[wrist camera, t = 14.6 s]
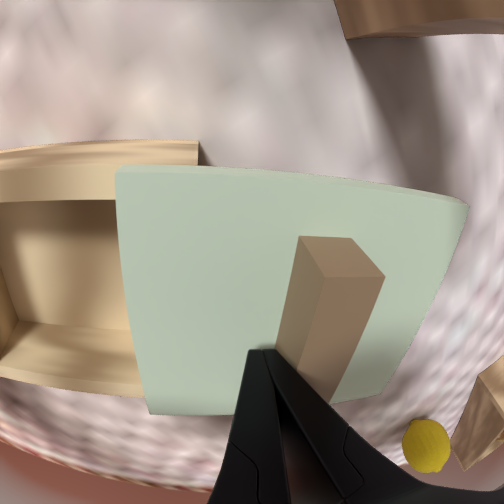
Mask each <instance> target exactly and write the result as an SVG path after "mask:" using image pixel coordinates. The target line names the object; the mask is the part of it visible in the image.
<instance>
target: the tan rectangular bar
mask: <svg viewBox="0 0 504 504" xmlns="http://www.w3.org/2000/svg"><path fill="white" fill-rule="evenodd" d="M334 2H335V5H336V8H337V12H338V15H339V18H340V22H341V25H342V28H343V32H344V36H345V39H358V38H375V37H423V36H435V35H450V34H504V0H334Z"/></svg>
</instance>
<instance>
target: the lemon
mask: <svg viewBox="0 0 504 504" xmlns="http://www.w3.org/2000/svg"><path fill="white" fill-rule="evenodd" d="M402 449H403V453H404V456H405V458H406V460H407V462H408V463H409V464H410V465H411V467H413V468H414V469H415V470H417V471H419V472H424V473H429V472H439V471H440V470H441V469H442V466H443V465H444V464H445V462H446V461H447V459H448V457H449V455H450V450H451V446H450V440H449V437H448V434H447V432H446V430H445V429H444V428H443V426H442V425H441V424H440V423H438V422H436V421H434V420H430V419H425V420H416V419H414V420H413V421H411V424H410V427H409V428H408V430H407V431H406V433H405V434H404V437H403V440H402Z"/></svg>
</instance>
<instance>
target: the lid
mask: <svg viewBox="0 0 504 504" xmlns="http://www.w3.org/2000/svg"><path fill="white" fill-rule="evenodd" d="M115 197H116V215H117V229H118V241H119V251H120V261H121V270H122V278H123V285H124V292H125V299H126V306H127V312H128V318H129V324H130V330H131V335H132V340H133V346H134V351H135V355H136V360H137V365H138V369H139V374H140V378H141V382H142V387H143V391H144V395H145V399H146V402H147V406H148V410H149V414H152V415H189V416H196V415H233V414H234V412H235V408H236V403H237V399H238V394H239V390H240V385H241V381H242V376H243V371H244V367H245V362H246V357H247V353H248V350H249V349H265V348H275V349H276V350H277V351H278V352H279V353H280V354H281V355H282V356H283V357H284V358H285V359H286V360H287V361H288V363H289V364H290V365H291V366H292V367H293V368H294V369H295V370H296V371H297V372H298V373H299V374H300V375H301V376H302V377H303V378H304V379H305V380H306V381H307V383H308V384H309V385H310V386H311V387H312V388H313V389H314V390H315V391H316V392H317V393H318V394H319V395H320V396H321V397H322V398H323V399H324V400H325V401H326V402H327V403H328V404H334V403H339V402H345V401H350V400H355V399H360V398H365V397H370V396H374V395H379V394H381V393H382V391H383V390H384V388H385V386H386V385H387V383H388V382H389V380H390V379H391V377H392V375H393V374H394V372H395V371H396V369H397V367H398V366H399V364H400V362H401V360H402V359H403V357H404V355H405V354H406V352H407V350H408V348H409V347H410V345H411V343H412V341H413V339H414V338H415V336H416V334H417V332H418V330H419V328H420V326H421V324H422V322H423V320H424V318H425V316H426V314H427V312H428V310H429V308H430V306H431V304H432V302H433V300H434V298H435V296H436V294H437V291H438V289H439V287H440V285H441V282H442V280H443V278H444V276H445V273H446V271H447V268H448V266H449V264H450V261H451V259H452V256H453V254H454V251H455V248H456V246H457V243H458V240H459V238H460V235H461V232H462V229H463V226H464V223H465V220H466V217H467V214H468V211H469V208H470V206H469V205H468V204H466V203H464V202H463V201H461V200H459V199H458V198H456V197H451V196H446V195H441V194H436V193H431V192H426V191H421V190H416V189H410V188H404V187H399V186H393V185H387V184H380V183H374V182H367V181H361V180H353V179H346V178H339V177H331V176H322V175H314V174H305V173H295V172H285V171H274V170H262V169H248V168H233V167H215V166H191V165H122V166H121V167H120V168H119V169H118V170H117V171H116V172H115Z"/></svg>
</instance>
